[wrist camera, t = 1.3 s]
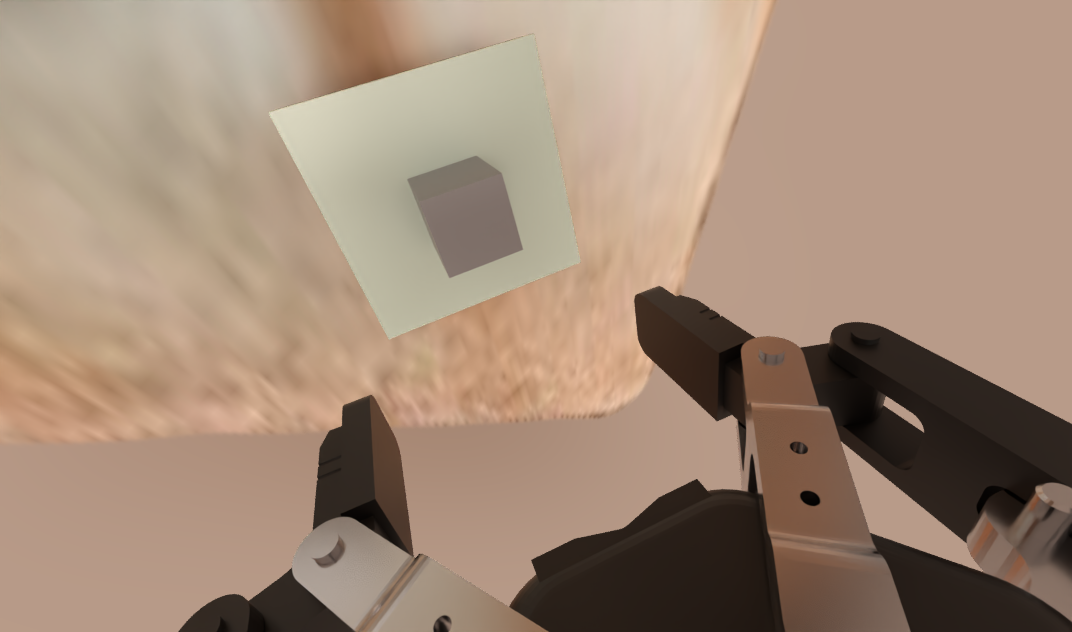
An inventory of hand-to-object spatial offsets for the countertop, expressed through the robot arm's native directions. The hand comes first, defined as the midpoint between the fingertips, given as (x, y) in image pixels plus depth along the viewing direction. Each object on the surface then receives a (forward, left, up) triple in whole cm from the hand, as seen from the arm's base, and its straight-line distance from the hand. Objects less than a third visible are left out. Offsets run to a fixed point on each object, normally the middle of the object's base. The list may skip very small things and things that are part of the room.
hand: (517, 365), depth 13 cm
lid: (-1, +1, -16) cm, 16 cm away
